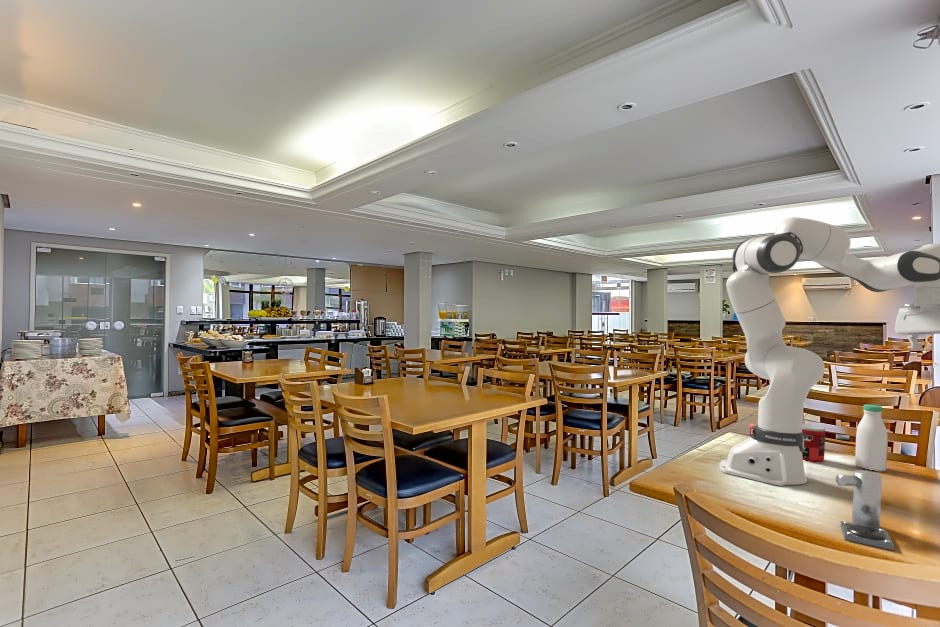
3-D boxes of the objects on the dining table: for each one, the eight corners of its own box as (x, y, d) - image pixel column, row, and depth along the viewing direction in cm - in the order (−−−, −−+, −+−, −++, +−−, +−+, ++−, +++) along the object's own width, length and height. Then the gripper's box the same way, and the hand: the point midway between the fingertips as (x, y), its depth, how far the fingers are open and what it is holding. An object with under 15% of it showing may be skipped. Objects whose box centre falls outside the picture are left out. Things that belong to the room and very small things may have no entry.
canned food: (790, 454, 165) (791, 423, 165) (815, 456, 164) (816, 424, 164) (802, 462, 157) (803, 428, 157) (829, 463, 156) (830, 430, 156)
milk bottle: (886, 474, 147) (888, 409, 147) (854, 467, 153) (856, 405, 152) (886, 468, 153) (889, 405, 153) (855, 462, 158) (858, 402, 158)
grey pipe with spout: (867, 521, 113) (869, 470, 113) (885, 530, 108) (888, 478, 108) (829, 519, 113) (831, 469, 113) (846, 529, 108) (848, 476, 108)
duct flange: (844, 540, 103) (845, 533, 103) (840, 526, 110) (840, 519, 110) (893, 550, 99) (894, 543, 99) (886, 535, 106) (886, 529, 106)
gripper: (890, 303, 147) (887, 348, 145) (964, 294, 126) (962, 346, 125) (908, 306, 147) (906, 351, 146) (986, 298, 127) (984, 350, 125)
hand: (933, 349), depth 135 cm, fingers open, 8 cm apart
